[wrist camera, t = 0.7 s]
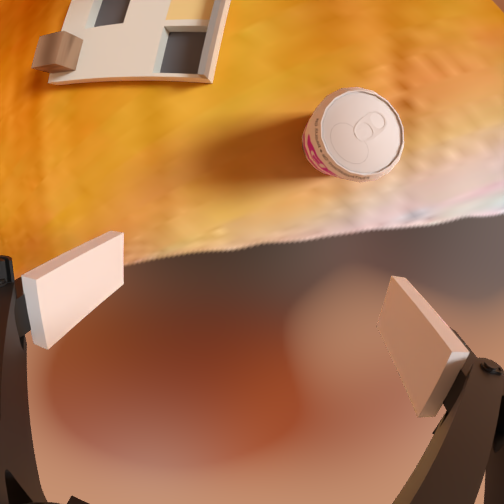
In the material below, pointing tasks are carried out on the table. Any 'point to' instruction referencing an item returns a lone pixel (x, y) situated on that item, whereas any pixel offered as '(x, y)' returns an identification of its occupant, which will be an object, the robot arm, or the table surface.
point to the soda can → (354, 135)
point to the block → (57, 52)
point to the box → (145, 40)
